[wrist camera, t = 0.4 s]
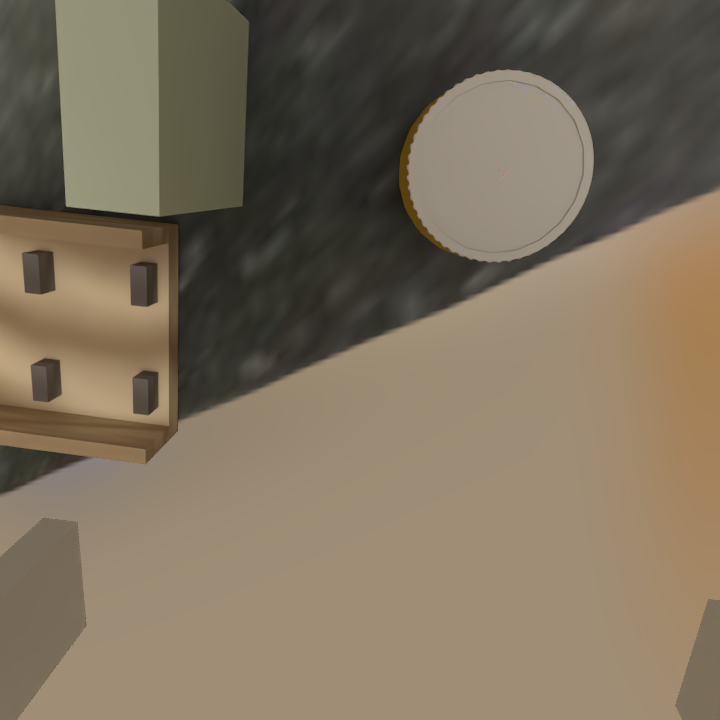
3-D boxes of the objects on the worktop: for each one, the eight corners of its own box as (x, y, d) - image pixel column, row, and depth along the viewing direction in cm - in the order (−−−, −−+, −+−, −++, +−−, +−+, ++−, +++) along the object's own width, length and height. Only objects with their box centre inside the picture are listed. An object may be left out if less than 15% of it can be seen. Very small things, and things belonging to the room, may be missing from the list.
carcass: (-22, 202, 37) (-87, 205, 32) (178, 224, 36) (141, 230, 31) (-2, 407, 41) (-57, 437, 36) (177, 430, 40) (145, 464, 35)
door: (165, 14, 33) (30, -78, 21) (249, 21, 32) (157, -68, 21) (166, 198, 36) (47, 204, 24) (242, 206, 35) (159, 216, 24)
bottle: (536, 219, 34) (623, 245, 20) (419, 250, 35) (422, 296, 21) (512, 94, 32) (589, 23, 18) (390, 131, 33) (370, 92, 19)
